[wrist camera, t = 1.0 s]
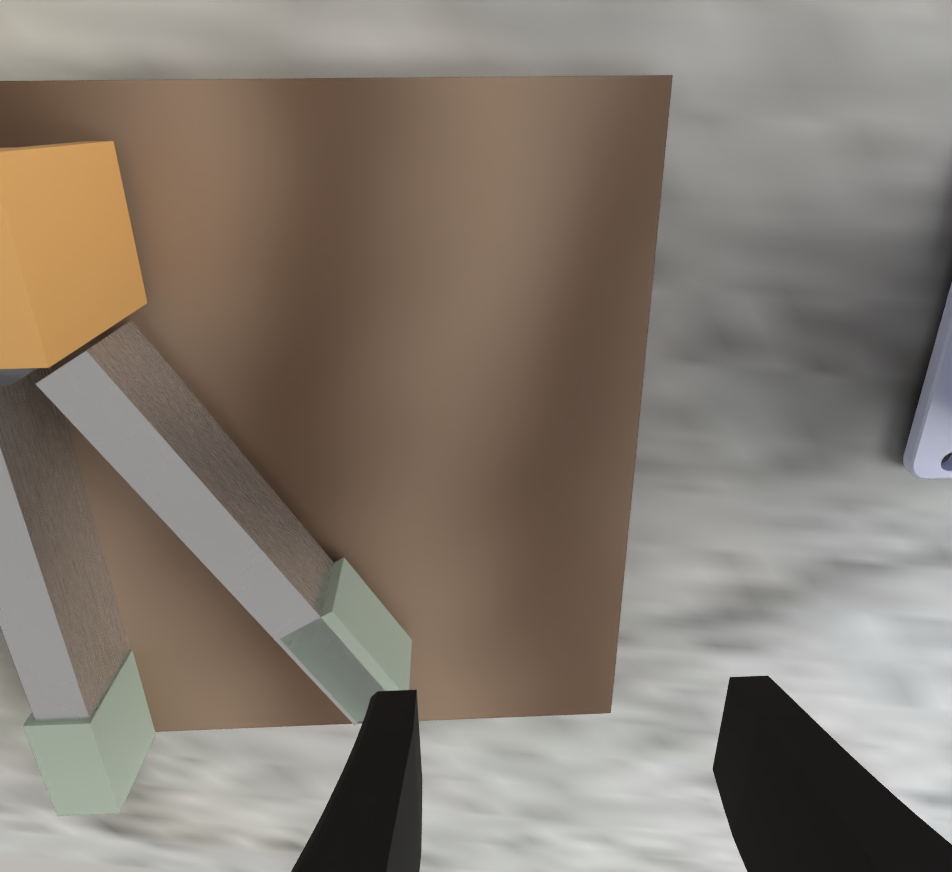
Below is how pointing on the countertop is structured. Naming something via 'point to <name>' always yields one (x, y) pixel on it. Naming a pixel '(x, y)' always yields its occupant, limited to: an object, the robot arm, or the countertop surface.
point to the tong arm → (231, 518)
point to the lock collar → (63, 251)
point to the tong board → (348, 396)
